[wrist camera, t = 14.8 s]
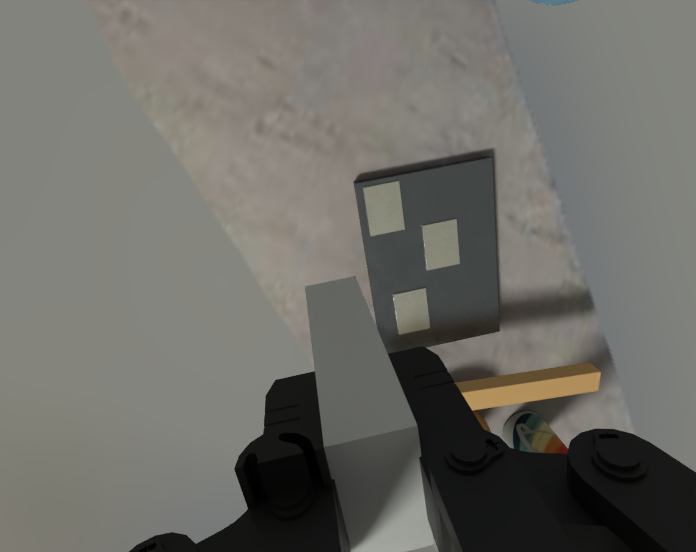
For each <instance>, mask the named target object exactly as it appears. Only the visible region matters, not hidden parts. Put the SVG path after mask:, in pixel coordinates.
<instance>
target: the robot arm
mask: <svg viewBox="0 0 696 552" xmlns="http://www.w3.org/2000/svg"><path fill="white" fill-rule="evenodd" d="M531 1H533V2H535V3H543V4H547V5H549V4H551V5H561V4H566V3H570V2H574V1H577V0H531ZM305 290H306V299H307V307H308V316H309V324H310V333H311V341H312V350H313V358H314V367H315V371H314V372H310V373H306V374H301V375H296V376H292V377H288V378H283V379H278V380H275V382H274V383H273V385H272V387H271V388H270V390H269V391H268V393H267V395H266V402H265V418H264V427H265V428H264V434H263V435H262V436H260V437H258V438H257V439H255V440H254V441H252V442H251V443H250V444H249V445H248V446H247V447H246V448H245V450H244V451H243V452H242V453H241V454H240V455H239V458H238V460H237V463H236V466H235V472H236V475H237V478H238V481H239V484H240V486H241V489H242V492H243V495H244V498H245V501H246V503H247V507H248V510H247V511H246V512H245V513H244V514H243V515H242V516H241V517H240V518H239V519H237V520H236V521H235V522H234V523H232V524H231V525H229V526H228V527H226V528H224V529H223V530H221V531H219V532H217V533H216V534H214V535H212V536H210V537H208V538H206V539H205V540H202V541H201V542H199V543H197V544H195V543H194V542H193V541H192V540H191V539H190V538H189V537H188V536H187V535H183V534H178V533H172V532H171V533H166V534H162V535H157V536H154V537H152V538H150V539H148V540H146V541H144V542H142V543H140V544H138V545H136V546H135V547H134V548H133V549H132V550H130V551H129V552H406V551H410V550H414V549H418V548H422V547H426V546H430V545H433V537H432V533H433V536H434V539H435V542H436V545H437V547H438V550H439V552H696V472H694V471H693V470H691V469H690V468H688V467H686V466H685V465H683V464H682V463H680V462H679V461H677V460H676V459H674V458H673V457H671V456H670V455H668V454H667V453H665V452H664V451H662V450H661V449H659V448H657V447H656V446H655V445H653V444H651V443H650V442H648V441H646V440H644V439H642V438H640V437H638V436H636V435H634V434H631V433H627V432H623V431H619V430H615V429H593V430H589V431H586V432H582V433H580V434H579V435H577V436H576V437H575V438H574V439H573V440H571V442H570V445H569V448H568V452H567V454H563V453H534V452H526V451H520V450H517V449H513V448H510V447H509V446H508V445H507V444H506V443H505V442H504V441H503V440H502V439H501V438H500V437H499V436H497V435H495V434H493V433H491V432H489V431H487V430H484V429H483V427H482V426H481V424H480V422H479V421H478V419H477V417H476V416H475V414H474V413H473V411H472V409H471V408H470V406H469V404H468V403H467V401H466V400H465V398H464V396H463V395H462V393H461V392H460V390H459V388H458V387H457V385H456V384H455V383H454V380H453V379H452V377H451V375H450V374H449V372H447V369H446V367H445V366H444V364H443V362H442V361H441V359H440V357H439V356H438V355H436V354H435V353H433V352H432V351H430V350H428V349H427V348H425V347H424V346H421V347H417V348H412V349H407V350H403V351H398V352H394V353H389V354H387V351H386V349H385V346H384V344H383V342H382V339H381V337H380V334H379V332H378V330H377V327H376V325H375V322H374V320H373V318H372V315H371V313H370V310H369V308H368V306H367V303H366V301H365V298H364V296H363V294H362V291H361V289H360V286H359V284H358V282H357V279H356V277H355V276H354V277H349V278H344V279H340V280H335V281H330V282H325V283H320V284H315V285H311V286H306V287H305Z"/></svg>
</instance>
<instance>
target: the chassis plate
mask: <svg viewBox="0 0 696 552" xmlns="http://www.w3.org/2000/svg"><path fill="white" fill-rule="evenodd" d="M354 187H355V193H356V200H357V206H358V212H359V218H360V225H361V231H362V237H363V243H364V250H365V256H366V262H367V268H368V275H369V281H370V287H371V293H372V300H373V306H374V312H375V318H376V325H377V330H378V332H379V334H380V337H381V339H382V342H383V344H384V346H385V349H386V351H387V354H389V353H394V352H398V351H403V350H407V349H412V348H417V347H421V346H424V347H430V346H434V345H439V344H444V343H448V342H453V341H457V340H462V339H466V338H471V337H475V336H480V335H485V334H489V333H494V332H498V331H500V329H499V305H498V281H497V257H496V233H495V208H494V184H493V160H492V157H489V156H487V157H482V158H477V159H472V160H467V161H461V162H456V163H451V164H446V165H441V166H435V167H430V168H425V169H420V170H415V171H410V172H404V173H399V174H394V175H389V176H384V177H378V178H373V179H368V180H363V181H358V182H354Z"/></svg>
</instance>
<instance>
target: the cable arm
mask: <svg viewBox="0 0 696 552" xmlns="http://www.w3.org/2000/svg"><path fill="white" fill-rule="evenodd" d="M600 375H601V371H600V370H598V369H597V368H596V367H595V366H594V365H592V364H591V363H584V364H577V365H570V366H563V367H557V368H550V369H543V370H537V371H530V372H523V373H517V374H510V375H503V376H496V377H490V378H483V379H476V380H470V381H463V382H456V383H455V384H456V385H457V387H458V388H459V390H460V392H461V393H462V395H463V396H464V398H465V400H466V401H467V403H468V404H469V406H470V408H471V409H472V410H479V409H485V408H492V407H498V406H504V405H511V404H517V403H524V402H530V401H536V400H543V399H549V398H556V397H562V396H568V395H575V394H581V393H588V392H594V391H598V388H599V382H600Z"/></svg>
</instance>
